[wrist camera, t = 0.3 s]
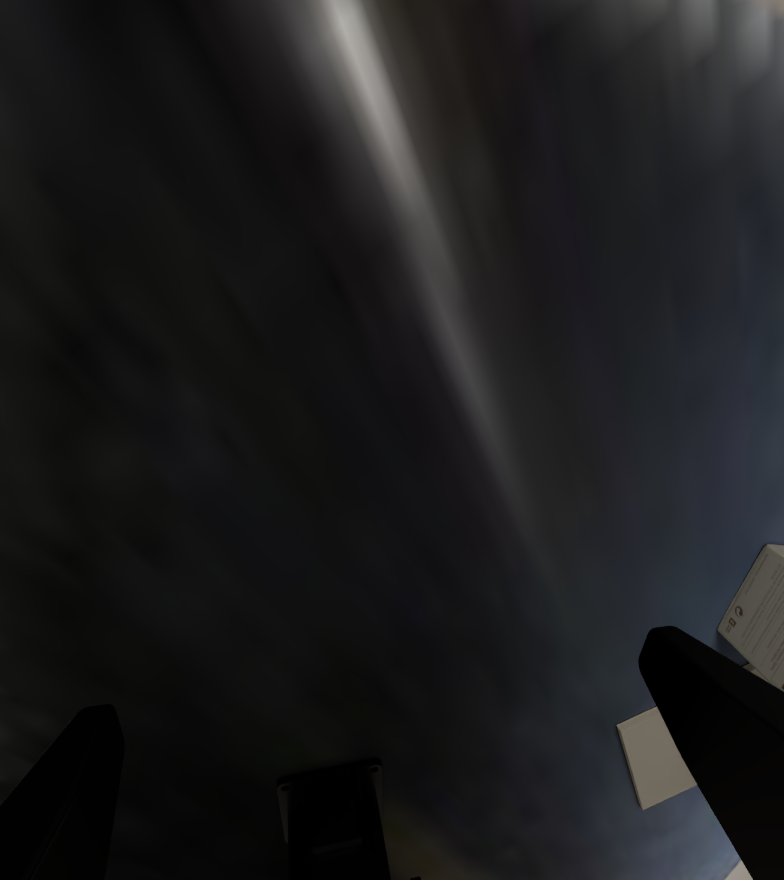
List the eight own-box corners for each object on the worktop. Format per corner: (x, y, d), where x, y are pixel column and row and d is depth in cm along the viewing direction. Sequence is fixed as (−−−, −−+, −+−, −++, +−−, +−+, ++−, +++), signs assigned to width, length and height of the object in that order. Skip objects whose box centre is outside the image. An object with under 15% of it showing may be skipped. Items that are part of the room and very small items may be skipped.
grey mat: (639, 803, 42) (642, 810, 42) (616, 724, 37) (620, 731, 36) (836, 711, 42) (842, 717, 42) (844, 619, 37) (851, 624, 36)
